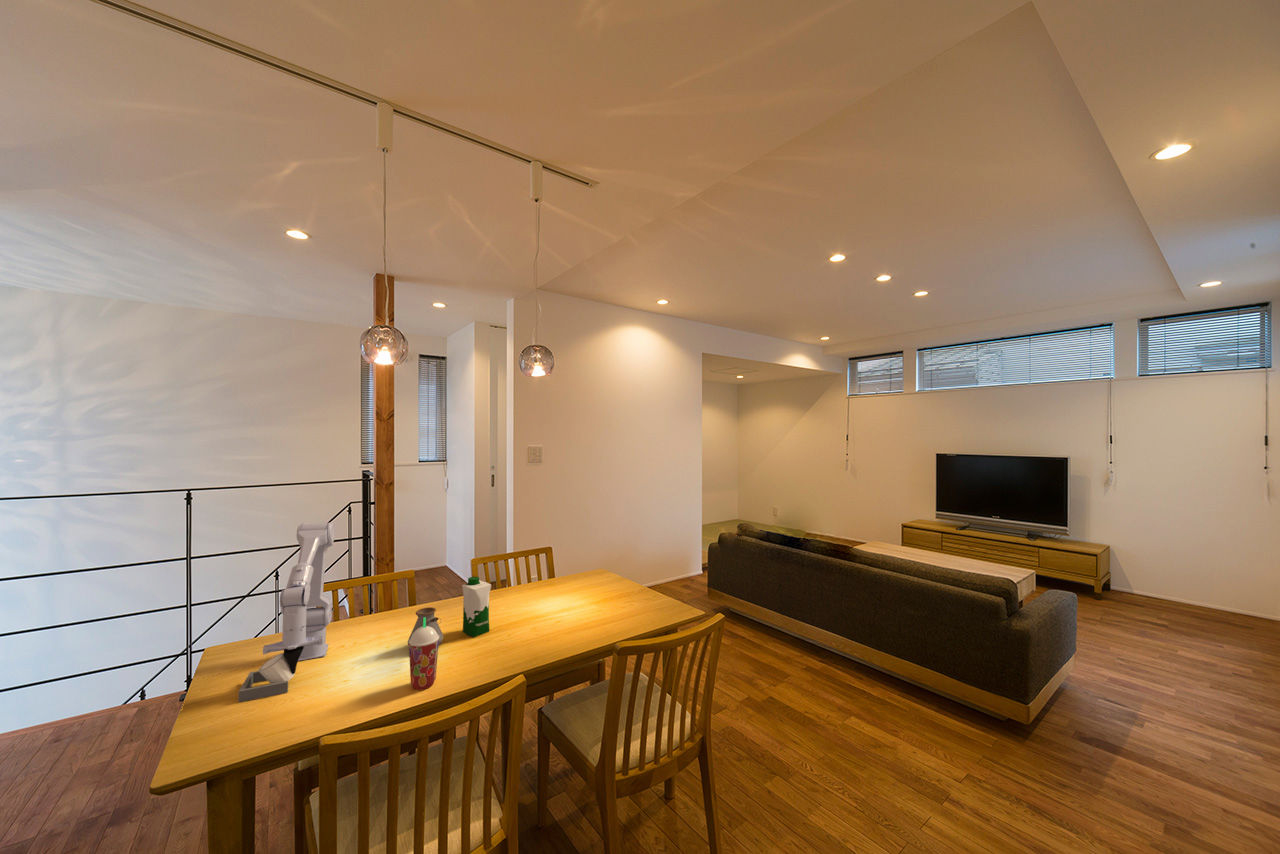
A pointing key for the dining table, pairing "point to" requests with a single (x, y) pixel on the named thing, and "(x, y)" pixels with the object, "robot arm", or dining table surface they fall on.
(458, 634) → the dining table surface
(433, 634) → the smoothie
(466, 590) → the milk carton
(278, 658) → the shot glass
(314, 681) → the dining table surface
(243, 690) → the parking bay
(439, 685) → the dining table surface
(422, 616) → the coffee pot
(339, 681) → the dining table surface
